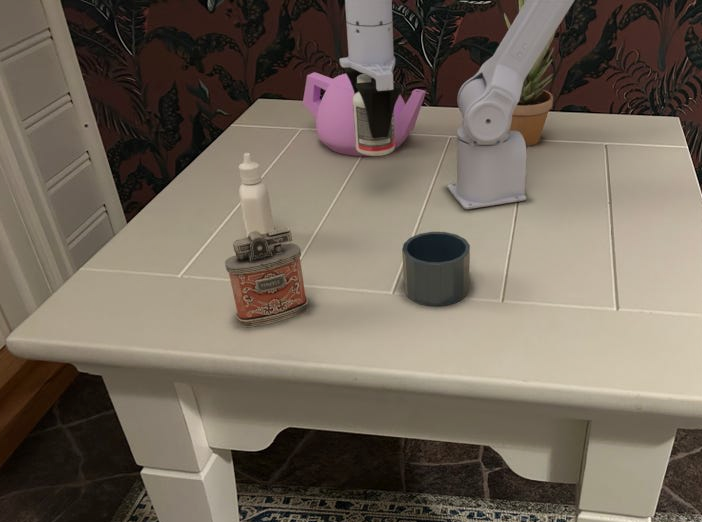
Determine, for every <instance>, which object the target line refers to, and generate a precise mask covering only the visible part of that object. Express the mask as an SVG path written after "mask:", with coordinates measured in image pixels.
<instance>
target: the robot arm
mask: <svg viewBox="0 0 702 522" xmlns="http://www.w3.org/2000/svg"><path fill="white" fill-rule="evenodd" d="M575 1H576V0H526V2H525V3H524V2H523V7H522V8H521V10H520V12H519V11H518V14H517V15H516V16H515V18H514V19H513V22H512V23H511V27H510V28H509V29H508V30H507V32H506V33H505V35H504V37H503V38H502V40H501V41H500V43H499V45H498V46H497V47H496V50H495V52H494V53H493V55H492V56H491V57H490V58H488V59H487V60H486V61H485V62H483V64H482V65H481V66H480V68H479V69H478V71H477V72H476V73H475V74H474V75H473V76H472V77H470V78H468V79H467V80H466V81H464V83H463V84H462V85H461V87H459V90H458V93H457V97H456V98H457V99H456V100H457V107H458V110H459V112H460V113H461V117H462V119H463V120H462V123H461V124H460V126H459V127H458V129H457V130H456V182H453V183H449V184H447V189H448V190H449V191H450V193H451V195H452V196H453V197H454V198H455V199H456V201H457V202H458V203H459V204H460V205H461V207H462V208H463V209H464V210H473V209H479V208H484V207H485V208H486V207H493V206H497V205H503V204H511V203H516V202H517V203H518V202H523V201H527V195H525V194H526V193H525V191H526V177H527V164H528V163H527V161H528V152H527V146H526V144H525V141H524V138H523V136H522V134H521V133H520V132H519V131H509V128H510V126H511V121H512V114H513V111H514V109H515V107H516V105H517V104H518V102H519V100H520V96H521V91H522V87H523V83H524V80H525V78H526V76H527V75H528V73H529V72H530V70H531V69H532V67H533V65H534V64H535V62H536V61H537V59H538V57H539V56H540V54H541V53H542V51H543V50H544V48H545V46H546V45H547V43H548V42H549V40H550V39H551V37H552V35H553V34H554V32H555V33H556V30H557V29H558V28H559V26H560V25H561V23H562V21H563V19H564V18H565V17H566V15H567V14H568V11H569V10H570V8H571V7H572V5H573V4H574V2H575ZM344 6H345V8H344V9H345V21H346V23H345V24H346V37H347V52H348V55H347V56H346V57H341V58H339V66H341V68H343V70H344V73H345V74H347V76H348V78H349V80H350V82H351V85H352V87H353V90H354V93H355V94H356V93H357V92H359V93H360V95H361V97H362V100H363V102H364V105H365V109H366V113H367V118H368V124H369V128H370V132H371V135H372V137H373V138H382V137H388V135H389V130H390V125H391V119H392V114H393V110H394V107H395V104H396V101H397V99H398V97H399V95H401V93H402V92H403V91H402V90H403V85H402V83H400V81H397V82H396V81H395V82H394V69H395V66H396V57H395V54H394V30H393V29H394V28H393V0H344ZM361 74H366V75H368V76H370V77H372V78H371V82H364V83H357V77H358V76H359V75H361Z"/></svg>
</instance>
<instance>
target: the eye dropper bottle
mask: <svg viewBox="0 0 702 522" xmlns="http://www.w3.org/2000/svg"><path fill="white" fill-rule="evenodd" d="M238 171H239V177H240V182H241V184H240V186H239V190H238V196H239V201H240V207H241V212H242V217H243V223H244V228H245V233H246V238H247V237H248V235H249V233H251V232H254V231H257V232H259V233H260V234H265V233H267V232H268V231H272V230H275V224H274V219H273V218H274V217H273V212H272V205H271V201H270V196H269V194H270V193H269V189H268V185H267V183H266V182H265V181H264V180H263V179H262V174H261V169H260V164H259V162H256V161H253V159H252V155H251V154H250V153H249V152H245V153H243V162H242V163H240V164H239V165H238Z"/></svg>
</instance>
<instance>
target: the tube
mask: <svg viewBox="0 0 702 522" xmlns="http://www.w3.org/2000/svg"><path fill="white" fill-rule="evenodd" d="M401 250H402V251H401V252H402V273H403V275H402V276H403V289H404V293H405V295H406V297H407V298H408V299H410V300H411V301H412V302H414V303H416V304H419V305H423V306H426V307H446V306H450V305H451V306H452V305H455V304H456V303H459V302H460V301H462V300H463V299H465V298H466V297H467V296H468V294H469V292H470V273H471V271H470V270H471V267H470V266H471V245H470V244H469V242H468V241H467V239H466V238H464V237H462V236H461V235H458V234H456V233H451V232H447V231H427V232H422V233H421V232H420V233H418V234H415V235H413V236H411V237H409V238H408V239H407V240H406V241H405V242H404V243H403V244H402V249H401Z"/></svg>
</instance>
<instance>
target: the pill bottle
mask: <svg viewBox="0 0 702 522" xmlns="http://www.w3.org/2000/svg"><path fill="white" fill-rule="evenodd" d="M371 78H372V77H370V76H368V75H366V74H361V75H359V76H358V77H357V83H364V82H371ZM353 112H354V128H355V142H356V149H357V151H358V152H359V153H361V154H364V155H369V156H368V157H380V156H381V157H382V156H385V155H386V156H387V155H389V154H390V153H392V152H393V151H395V149H394V148H395V134H394V110H393V114H392V119H391V125H390V130H389V135H388V137H382V138H373V137H372V135H371V132H370V128H369V124H368V118H367V113H366V109H365V105H364V102H363V100H362V97H361V95H360V93H359V92H357V93H356V94H355V95H354V97H353Z"/></svg>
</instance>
